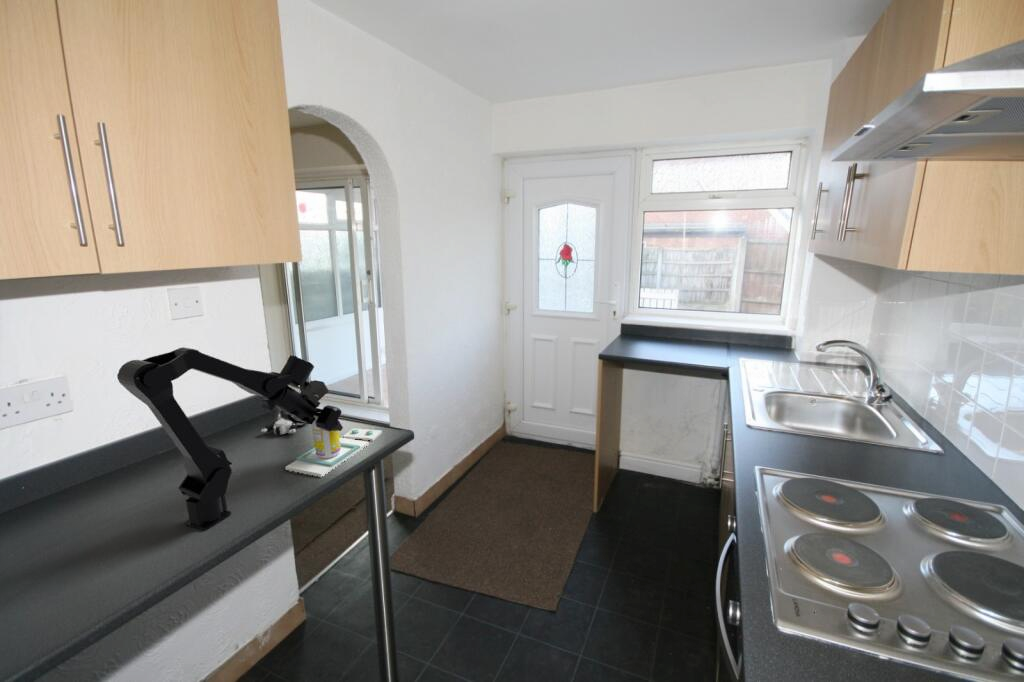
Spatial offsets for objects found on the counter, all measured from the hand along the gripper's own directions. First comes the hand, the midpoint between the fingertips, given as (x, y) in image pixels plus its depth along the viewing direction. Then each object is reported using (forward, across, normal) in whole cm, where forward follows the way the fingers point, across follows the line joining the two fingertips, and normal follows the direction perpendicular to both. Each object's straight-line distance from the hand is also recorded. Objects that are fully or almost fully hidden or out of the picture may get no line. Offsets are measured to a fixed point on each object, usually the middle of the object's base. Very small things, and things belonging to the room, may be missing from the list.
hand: (330, 426), depth 132 cm
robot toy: (+12, +29, +1) cm, 31 cm away
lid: (+16, +2, -3) cm, 16 cm away
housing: (+5, 0, +7) cm, 9 cm away
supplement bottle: (+5, 0, +7) cm, 8 cm away
